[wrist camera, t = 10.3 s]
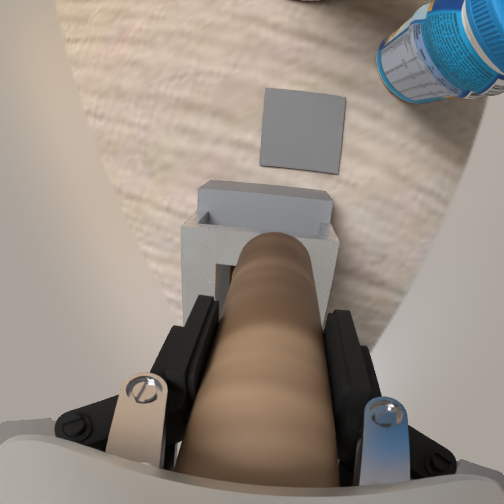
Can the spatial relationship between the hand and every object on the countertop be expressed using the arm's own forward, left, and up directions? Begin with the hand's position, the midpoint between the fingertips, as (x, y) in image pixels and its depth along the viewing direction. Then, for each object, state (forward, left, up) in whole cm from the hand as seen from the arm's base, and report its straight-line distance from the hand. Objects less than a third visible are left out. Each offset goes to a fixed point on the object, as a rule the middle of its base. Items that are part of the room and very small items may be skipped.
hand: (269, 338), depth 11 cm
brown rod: (0, 0, -6) cm, 6 cm away
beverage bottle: (-17, +13, -23) cm, 31 cm away
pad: (-8, +2, -23) cm, 24 cm away
